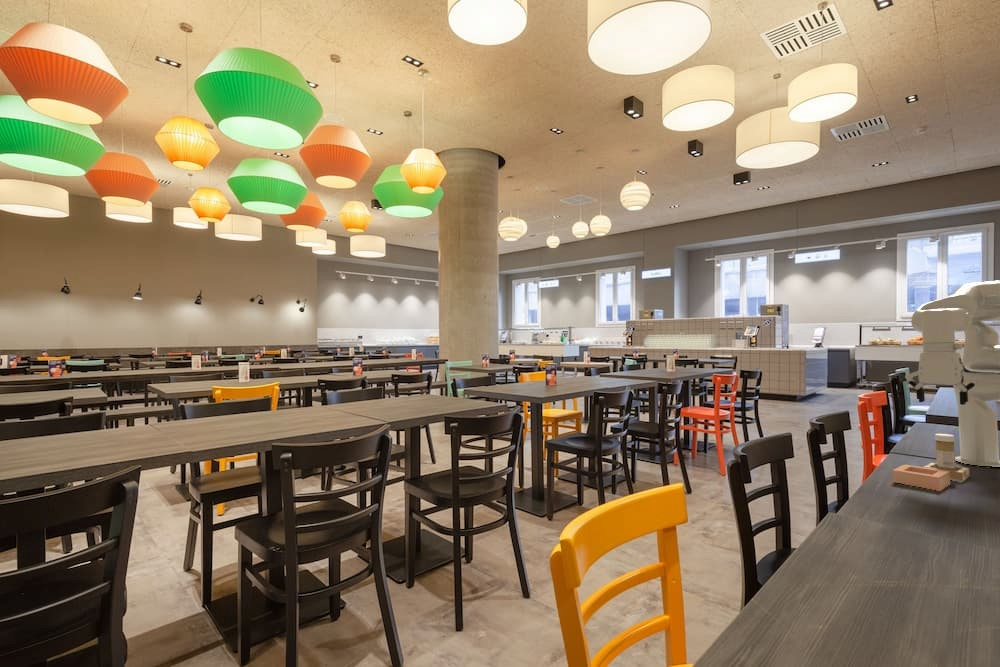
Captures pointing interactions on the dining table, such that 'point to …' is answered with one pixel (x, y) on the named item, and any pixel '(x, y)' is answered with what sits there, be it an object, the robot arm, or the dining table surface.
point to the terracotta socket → (922, 477)
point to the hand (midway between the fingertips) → (941, 403)
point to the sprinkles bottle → (945, 451)
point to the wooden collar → (953, 472)
